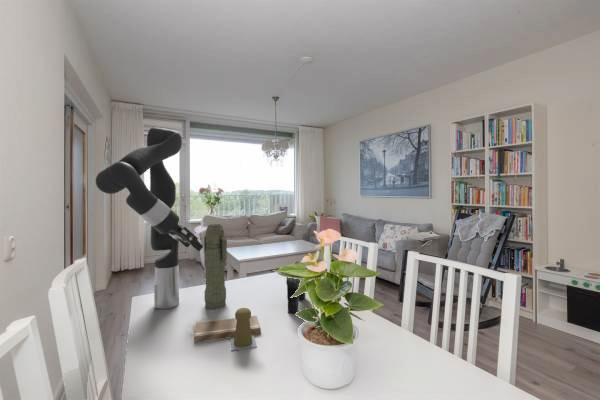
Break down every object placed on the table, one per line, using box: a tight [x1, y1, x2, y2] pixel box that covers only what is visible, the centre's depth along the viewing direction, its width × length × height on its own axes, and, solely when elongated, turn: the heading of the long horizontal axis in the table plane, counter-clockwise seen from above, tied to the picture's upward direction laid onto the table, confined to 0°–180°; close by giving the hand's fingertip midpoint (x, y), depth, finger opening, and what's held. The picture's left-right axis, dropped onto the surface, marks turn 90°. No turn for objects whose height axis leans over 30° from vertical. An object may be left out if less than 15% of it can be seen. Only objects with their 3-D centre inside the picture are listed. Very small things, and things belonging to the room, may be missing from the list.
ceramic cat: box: [285, 261, 306, 315], centre depth 125 cm, size 20×6×20 cm, turn 165°
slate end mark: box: [229, 334, 258, 352], centre depth 96 cm, size 8×8×1 cm
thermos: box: [203, 223, 228, 310], centre depth 125 cm, size 9×12×35 cm
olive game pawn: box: [234, 307, 252, 347], centre depth 95 cm, size 6×6×11 cm
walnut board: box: [193, 315, 262, 343], centre depth 104 cm, size 22×10×2 cm, turn 107°
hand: (194, 246), depth 100 cm, fingers open, 8 cm apart
